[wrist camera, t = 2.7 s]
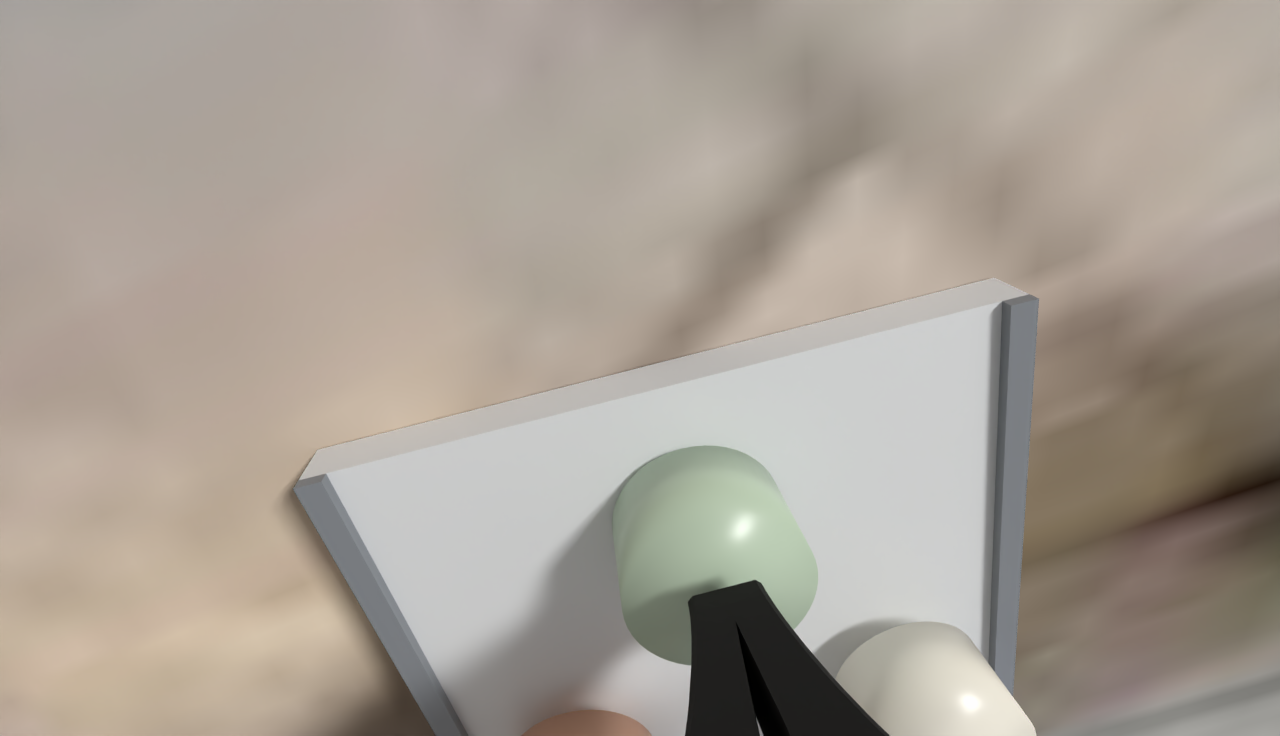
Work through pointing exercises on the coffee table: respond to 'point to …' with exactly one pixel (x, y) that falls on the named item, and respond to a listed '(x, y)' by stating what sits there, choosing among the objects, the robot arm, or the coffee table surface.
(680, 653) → the sage button
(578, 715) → the terracotta button
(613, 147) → the coffee table surface
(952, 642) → the cream button
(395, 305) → the coffee table surface
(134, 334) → the coffee table surface
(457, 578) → the panel
